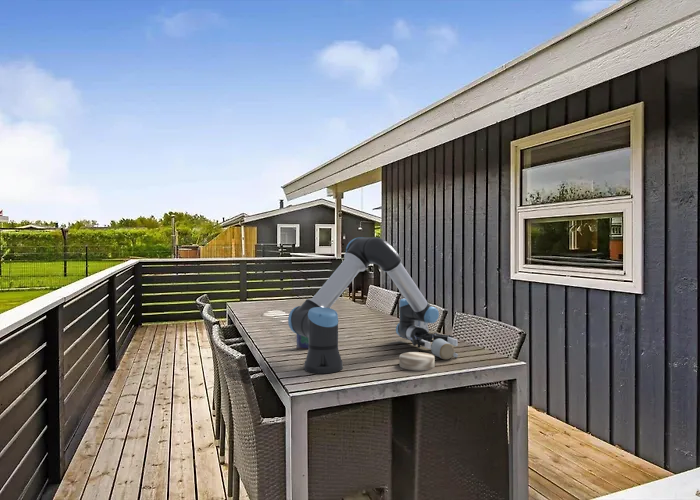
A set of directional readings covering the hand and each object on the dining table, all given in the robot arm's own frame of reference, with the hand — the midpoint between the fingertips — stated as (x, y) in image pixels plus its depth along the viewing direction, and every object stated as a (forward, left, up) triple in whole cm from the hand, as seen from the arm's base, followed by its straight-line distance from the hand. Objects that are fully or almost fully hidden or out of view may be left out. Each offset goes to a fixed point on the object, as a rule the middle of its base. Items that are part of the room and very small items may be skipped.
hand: (443, 344), depth 200 cm
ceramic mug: (+2, 0, -6) cm, 6 cm away
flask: (-27, +57, -6) cm, 63 cm away
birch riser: (-17, +2, -6) cm, 18 cm away
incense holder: (+40, +40, -6) cm, 57 cm away
